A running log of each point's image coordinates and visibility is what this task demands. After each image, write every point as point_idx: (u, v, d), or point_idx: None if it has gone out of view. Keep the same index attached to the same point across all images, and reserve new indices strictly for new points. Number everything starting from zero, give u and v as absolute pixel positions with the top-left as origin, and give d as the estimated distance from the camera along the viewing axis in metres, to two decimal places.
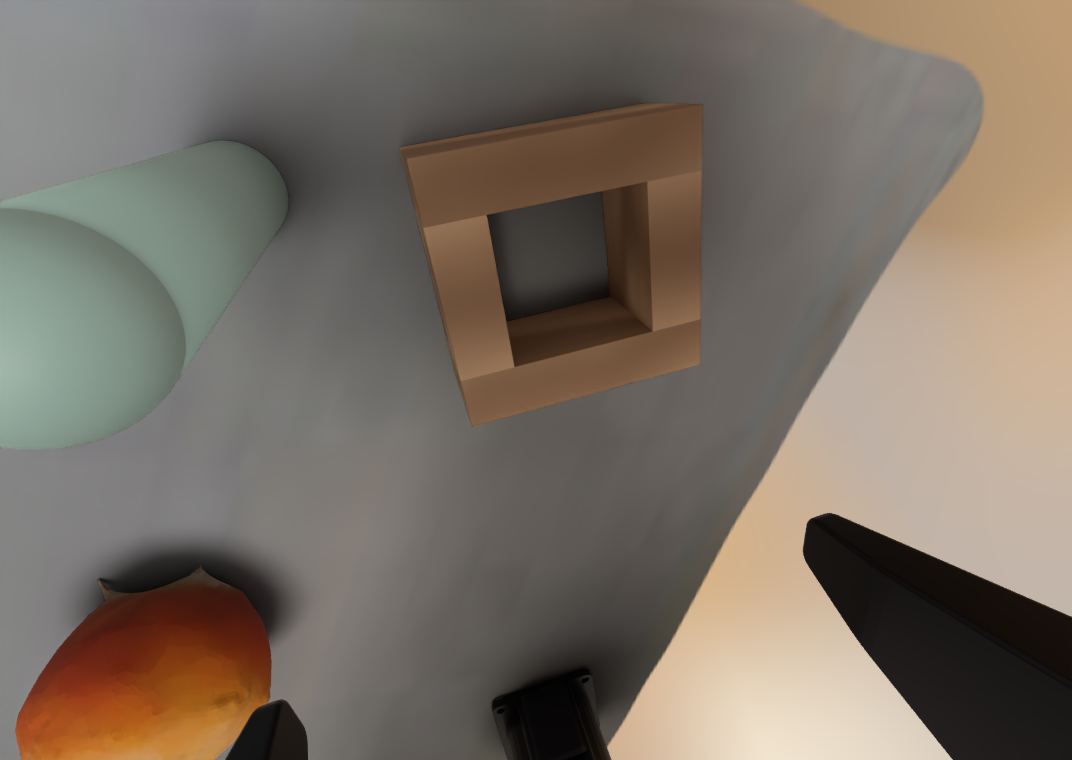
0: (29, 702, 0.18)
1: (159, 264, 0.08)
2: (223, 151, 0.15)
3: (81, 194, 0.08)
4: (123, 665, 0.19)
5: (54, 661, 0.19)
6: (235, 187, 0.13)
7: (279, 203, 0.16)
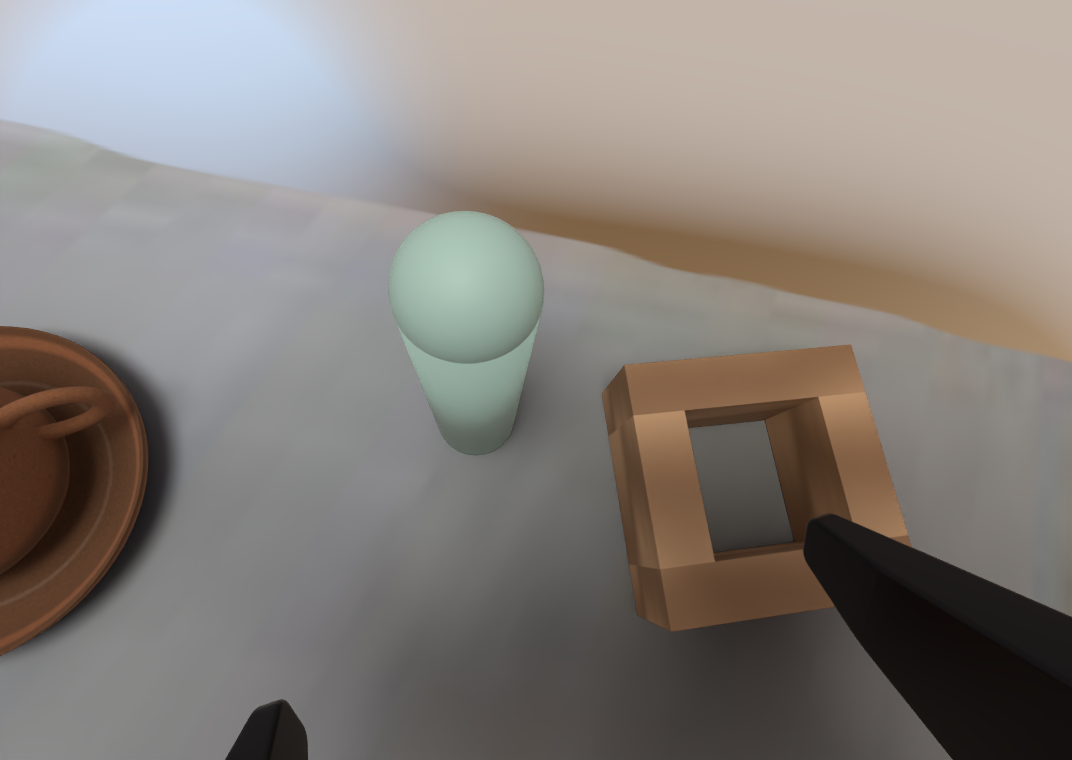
0: None
1: None
2: None
3: None
4: None
5: None
6: None
7: None
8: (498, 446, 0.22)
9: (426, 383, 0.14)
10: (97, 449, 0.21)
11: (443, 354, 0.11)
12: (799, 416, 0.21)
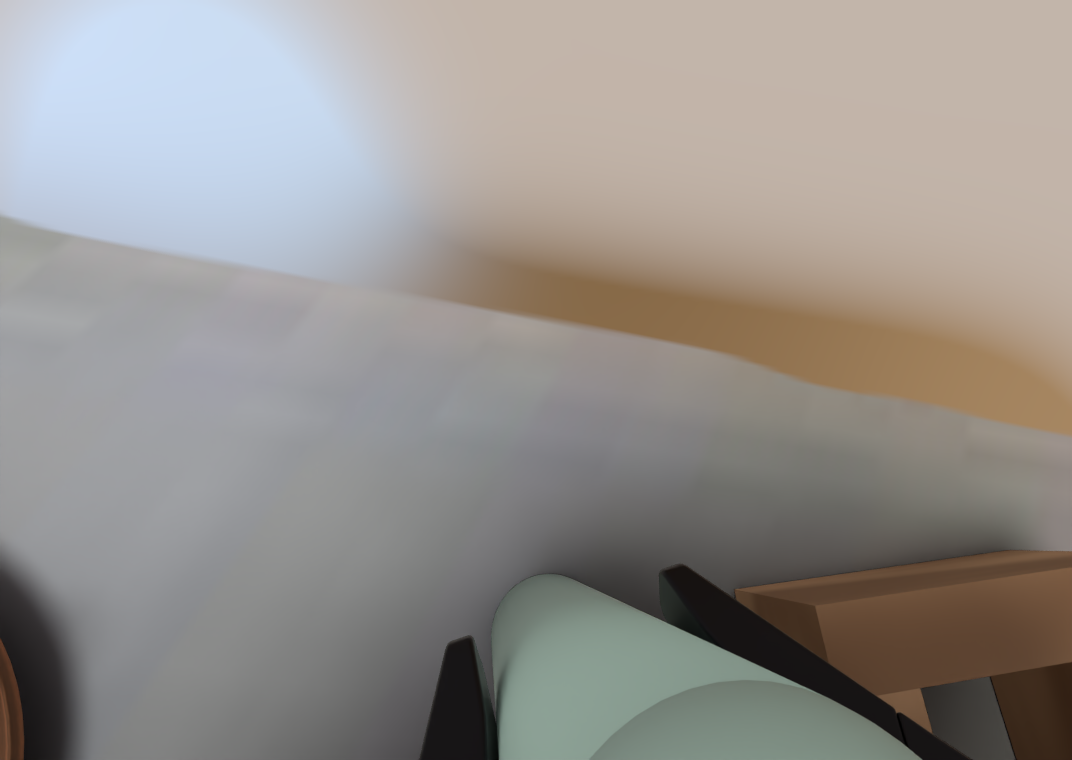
0: None
1: None
2: None
3: (723, 651, 0.05)
4: None
5: None
6: None
7: None
8: None
9: None
10: None
11: None
12: None
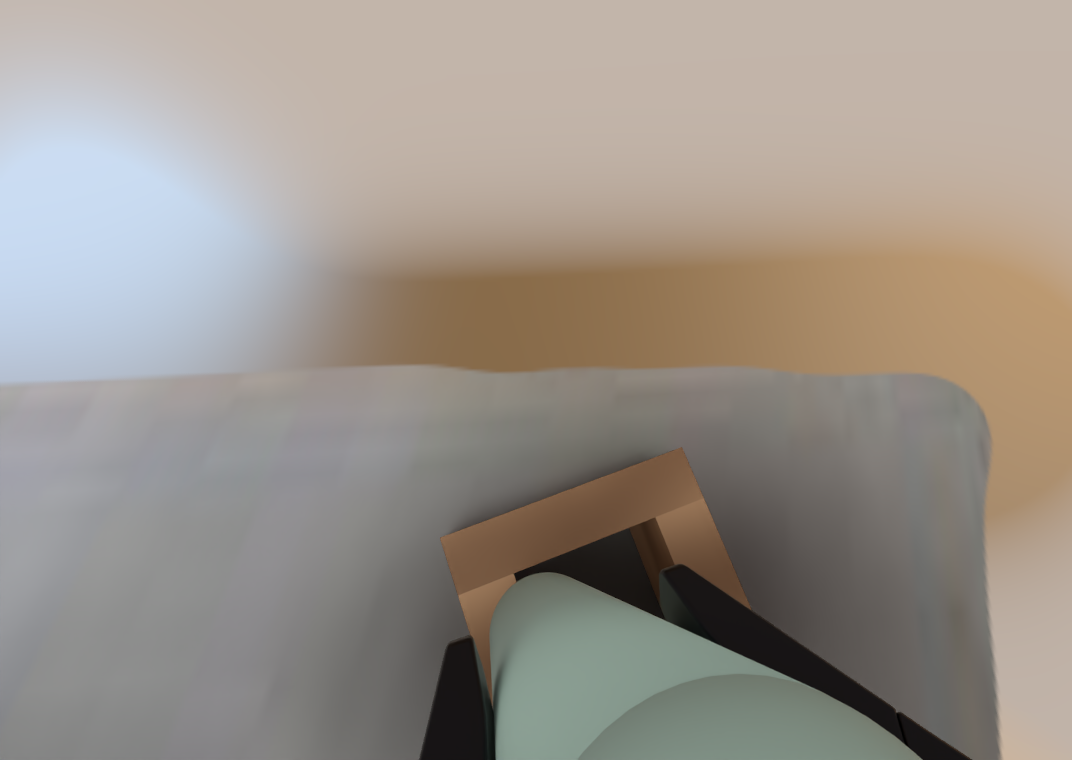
0: None
1: None
2: (586, 585, 0.13)
3: (718, 646, 0.05)
4: None
5: None
6: None
7: None
8: None
9: None
10: None
11: None
12: (647, 529, 0.20)
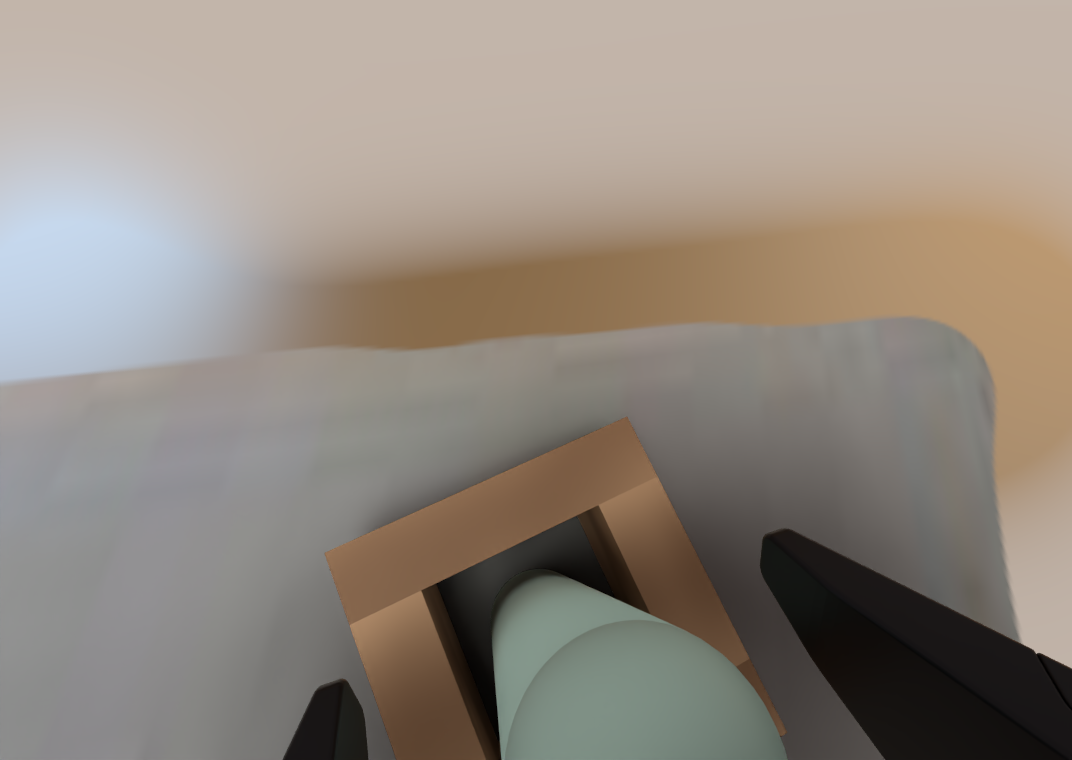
0: None
1: None
2: (569, 578, 0.16)
3: (640, 611, 0.08)
4: None
5: None
6: None
7: None
8: None
9: None
10: None
11: None
12: (595, 520, 0.16)
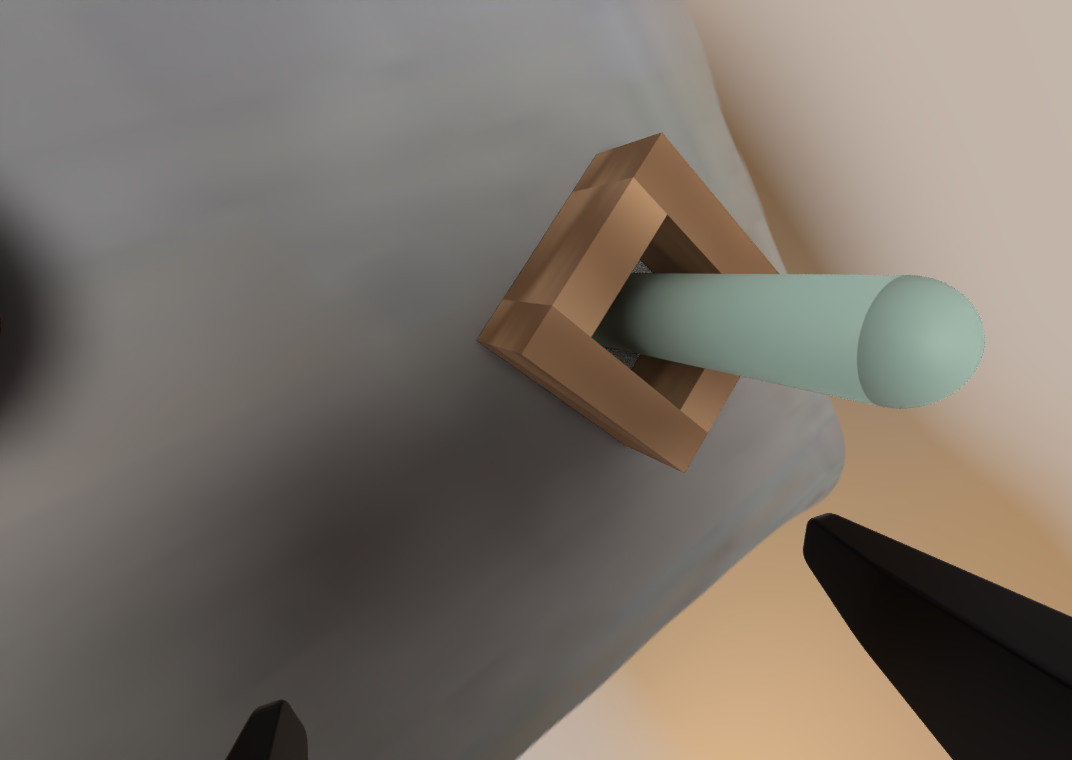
0: None
1: None
2: None
3: None
4: None
5: None
6: None
7: None
8: (602, 345, 0.23)
9: (754, 318, 0.15)
10: None
11: (869, 364, 0.12)
12: None
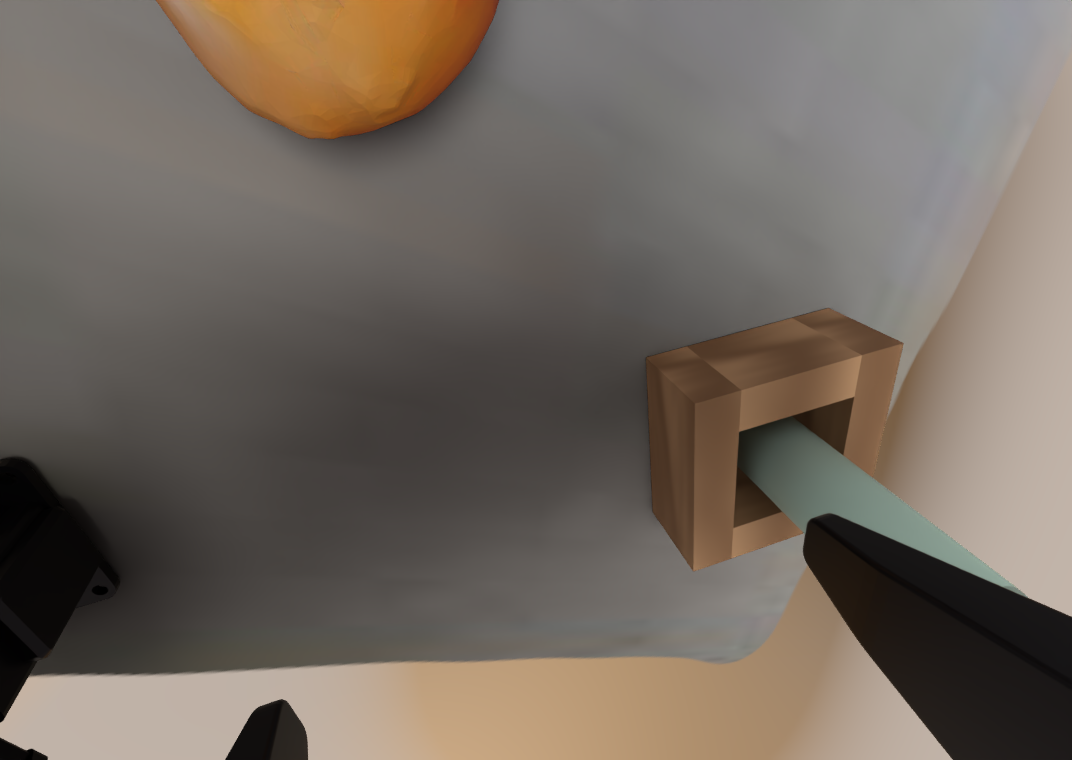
0: None
1: None
2: None
3: None
4: None
5: None
6: None
7: None
8: None
9: (882, 525, 0.17)
10: None
11: None
12: None
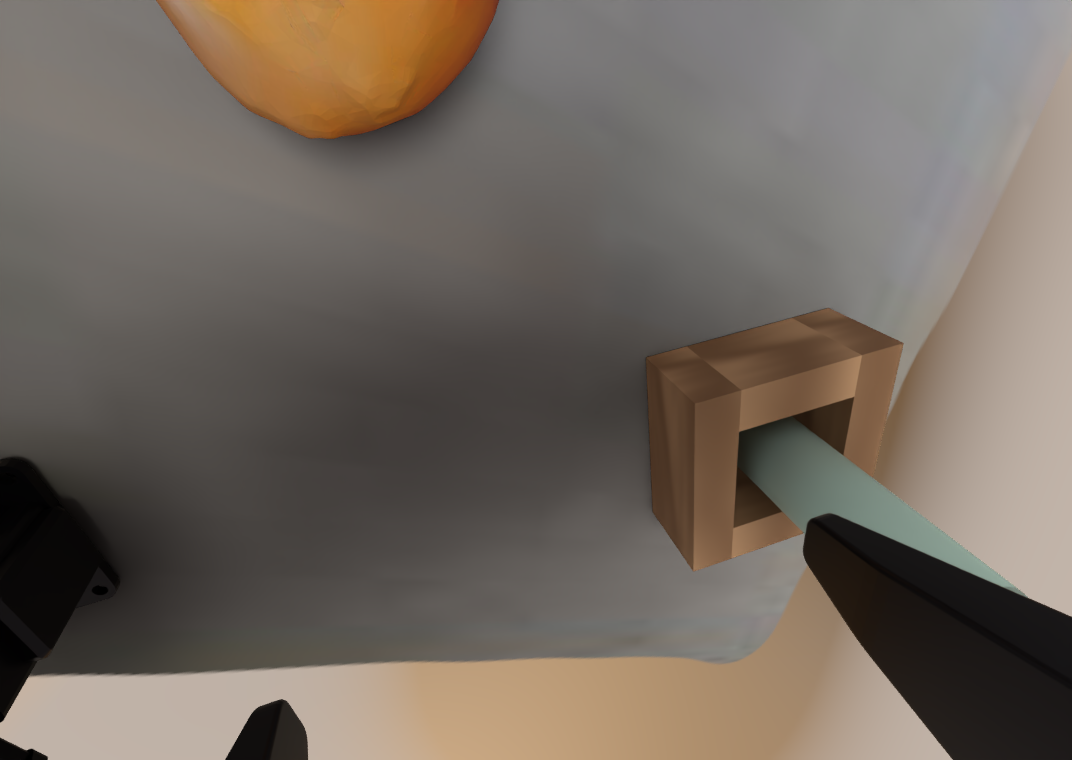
0: None
1: None
2: None
3: None
4: None
5: None
6: None
7: None
8: None
9: (883, 526, 0.17)
10: None
11: None
12: None
